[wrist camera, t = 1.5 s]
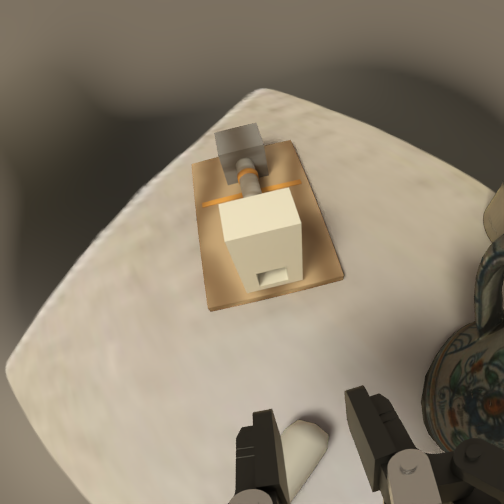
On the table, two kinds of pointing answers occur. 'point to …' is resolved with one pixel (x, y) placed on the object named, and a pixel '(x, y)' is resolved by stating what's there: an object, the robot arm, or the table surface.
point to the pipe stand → (249, 184)
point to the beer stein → (471, 368)
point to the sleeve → (264, 239)
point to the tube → (302, 452)
